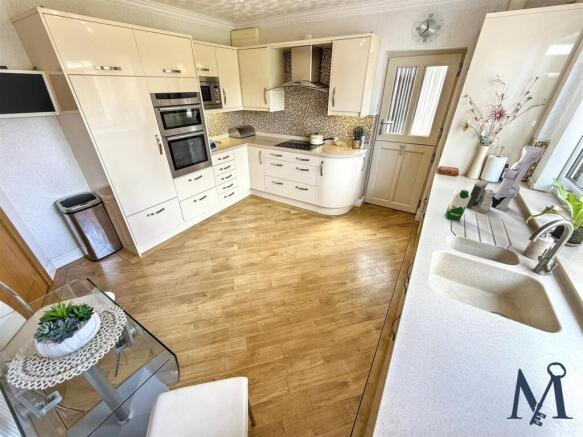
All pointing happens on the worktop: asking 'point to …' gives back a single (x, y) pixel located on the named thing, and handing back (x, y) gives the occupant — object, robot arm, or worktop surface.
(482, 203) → the syrup box
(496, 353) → the worktop surface
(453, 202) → the milk carton
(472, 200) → the grey block
